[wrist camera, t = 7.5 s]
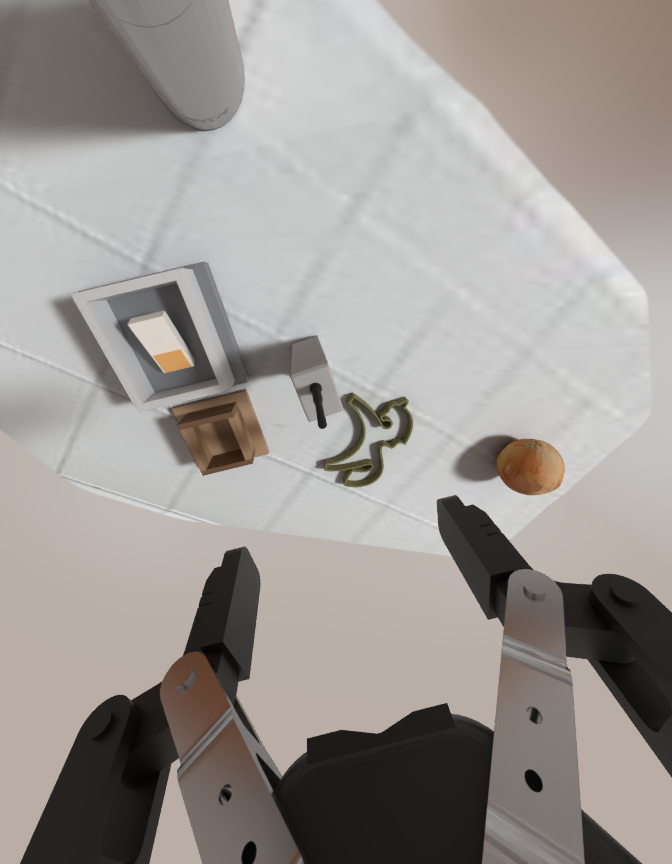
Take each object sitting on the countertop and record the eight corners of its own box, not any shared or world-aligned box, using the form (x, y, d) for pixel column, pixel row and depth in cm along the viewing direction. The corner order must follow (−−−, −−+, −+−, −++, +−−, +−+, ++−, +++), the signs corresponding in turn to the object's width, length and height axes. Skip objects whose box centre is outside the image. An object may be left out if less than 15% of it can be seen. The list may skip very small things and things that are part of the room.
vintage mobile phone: (304, 376, 44) (312, 468, 22) (292, 343, 42) (287, 410, 20) (328, 367, 44) (359, 452, 22) (316, 334, 42) (339, 392, 20)
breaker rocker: (130, 318, 34) (127, 325, 33) (164, 310, 34) (162, 316, 33) (166, 366, 40) (163, 373, 39) (195, 359, 40) (193, 366, 39)
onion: (534, 420, 53) (582, 448, 44) (537, 463, 57) (581, 496, 49) (482, 440, 54) (519, 471, 45) (489, 481, 58) (524, 517, 49)
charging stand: (173, 406, 44) (160, 420, 40) (246, 389, 44) (240, 400, 40) (204, 466, 49) (195, 484, 45) (269, 450, 49) (266, 467, 45)
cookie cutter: (353, 379, 46) (356, 383, 44) (420, 401, 49) (425, 405, 47) (317, 473, 53) (318, 479, 51) (378, 487, 56) (380, 493, 54)
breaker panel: (88, 291, 37) (53, 292, 31) (207, 262, 37) (192, 259, 31) (149, 402, 43) (128, 418, 38) (249, 378, 44) (242, 391, 38)
